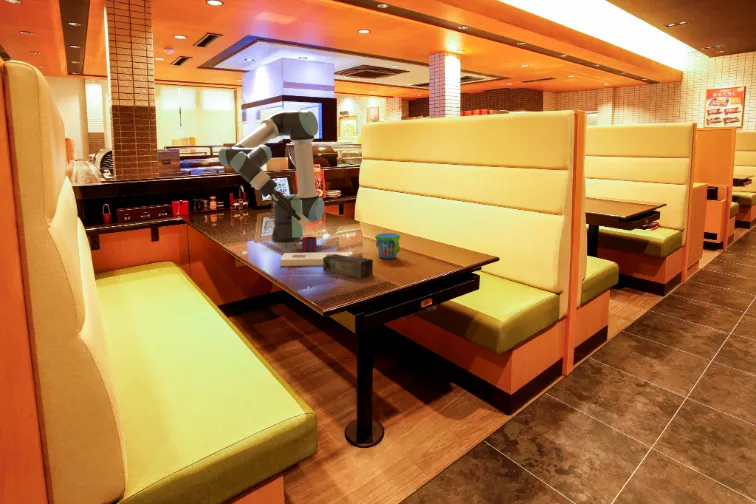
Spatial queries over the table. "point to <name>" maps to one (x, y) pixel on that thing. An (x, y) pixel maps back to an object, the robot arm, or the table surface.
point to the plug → (296, 227)
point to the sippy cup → (388, 245)
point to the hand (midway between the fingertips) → (306, 224)
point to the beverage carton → (348, 265)
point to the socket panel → (306, 258)
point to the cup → (308, 244)
